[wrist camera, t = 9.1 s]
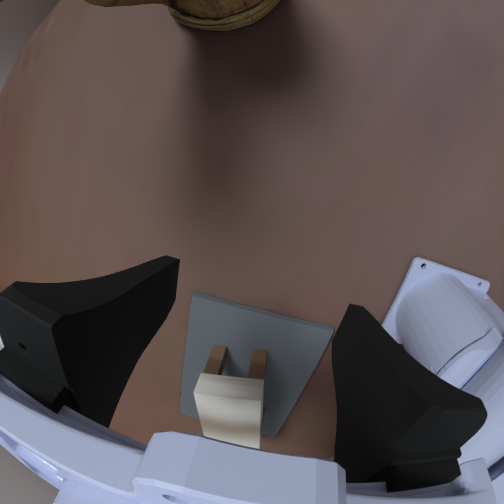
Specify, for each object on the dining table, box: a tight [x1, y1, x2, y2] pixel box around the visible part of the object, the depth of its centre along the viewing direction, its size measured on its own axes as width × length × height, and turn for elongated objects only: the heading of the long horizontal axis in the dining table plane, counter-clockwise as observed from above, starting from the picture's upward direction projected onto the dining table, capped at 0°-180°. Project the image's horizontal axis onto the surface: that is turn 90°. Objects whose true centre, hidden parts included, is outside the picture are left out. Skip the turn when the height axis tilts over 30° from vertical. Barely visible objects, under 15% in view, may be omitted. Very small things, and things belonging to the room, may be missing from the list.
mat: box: [179, 291, 334, 437], centre depth 27 cm, size 18×12×1 cm, turn 167°
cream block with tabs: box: [193, 345, 267, 449], centre depth 24 cm, size 10×5×6 cm, turn 0°
